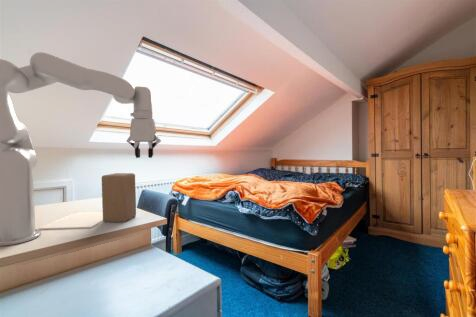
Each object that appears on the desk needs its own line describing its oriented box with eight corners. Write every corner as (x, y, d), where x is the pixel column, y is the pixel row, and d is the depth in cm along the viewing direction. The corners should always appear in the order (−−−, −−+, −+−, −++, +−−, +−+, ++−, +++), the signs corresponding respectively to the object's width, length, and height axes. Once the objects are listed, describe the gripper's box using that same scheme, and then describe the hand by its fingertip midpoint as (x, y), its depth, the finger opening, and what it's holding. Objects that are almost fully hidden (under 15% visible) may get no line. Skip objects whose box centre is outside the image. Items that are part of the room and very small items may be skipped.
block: (137, 216, 106) (135, 173, 105) (124, 223, 96) (122, 175, 95) (116, 215, 107) (115, 172, 106) (101, 222, 97) (100, 175, 96)
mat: (38, 229, 89) (38, 228, 89) (74, 213, 111) (74, 212, 111) (92, 228, 90) (91, 226, 90) (117, 212, 112) (117, 211, 112)
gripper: (119, 114, 96) (120, 158, 97) (160, 114, 97) (161, 157, 98) (126, 117, 103) (127, 157, 104) (165, 117, 105) (165, 157, 105)
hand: (144, 157), depth 101 cm, fingers open, 4 cm apart
